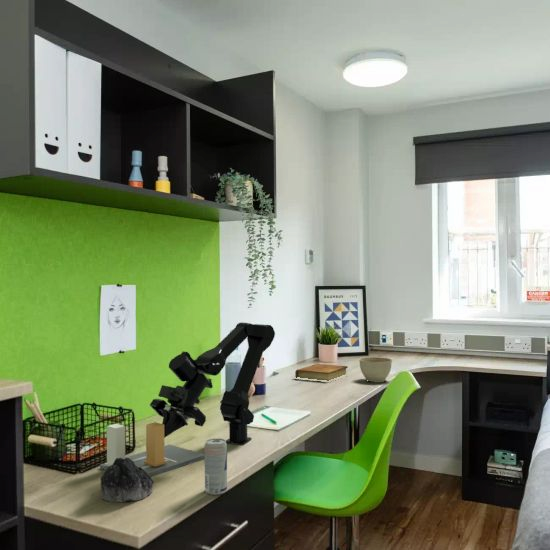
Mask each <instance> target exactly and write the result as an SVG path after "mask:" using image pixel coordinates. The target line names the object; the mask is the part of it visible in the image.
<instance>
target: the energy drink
mask: <svg viewBox="0 0 550 550" xmlns="http://www.w3.org/2000/svg"><path fill="white" fill-rule="evenodd" d="M226 440H227V439H224V438H210V439H207V440H205V443H204V454H205V459H204V491H205V493H206V494H207V495H211V496H219V495H223V494H225V493H226V492H227V490H228V444H227V443H226Z"/></svg>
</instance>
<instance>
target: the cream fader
mask: <svg viewBox="0 0 550 550" xmlns="http://www.w3.org/2000/svg"><path fill="white" fill-rule="evenodd" d="M125 457H126V426H125V425H122V424H119V423H114V424H110V425H109V424H108V425H107V426H106V462H104V463H105V465H106V466H108V467H109V466H111V465H113V463H114V461H115V459H116V458H123V459H125Z"/></svg>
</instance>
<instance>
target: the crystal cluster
mask: <svg viewBox="0 0 550 550" xmlns="http://www.w3.org/2000/svg"><path fill="white" fill-rule="evenodd" d="M153 485H154V479H152V476H151V477H150V476H149V474H148V473H147V472H146V471H145V470H143V469H142V468H141V467H139V468H138V467H137V466H136V465H135V464H134V462H133V461H132V460H131V459H129V458H125V459H123V458H116V459H115V461H114V463H113V465H111V466H109V467H108V468H107V470H104V473H103V474H102V475H101V477H100V499H101V500H103V499H104V501H107V502H114V503H115V502H118V503H120V502H121V503H123V502H129V501H132V502H133V501H140V500H144V499H146V497H148V496H149V495H151V494H152V493H153V492H154V489H153Z"/></svg>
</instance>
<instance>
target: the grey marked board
mask: <svg viewBox="0 0 550 550" xmlns="http://www.w3.org/2000/svg"><path fill="white" fill-rule="evenodd" d="M125 458H129V459H131V460H132V461H133V462H134V464H135V465H136V466H137V467H138V468H139V467H141V468H142V469H143V470H145V471H146V472H147V473H148V474H149V476H150V477H151V478H152V477H154V476H157V475H159V474H163V473H167V472H169V471H172V470H175V469H178V468H180V467H184V466H187V465H190V464H192V463H195V462H199V461H201V460H205V453H201V452H197V451H194V450H191V449H187V448H183V447H180V446H177V445H173V444H167V445H164V461H167V463H166V464H163V465H159V466H156V467H154V466H151V465H148V464H145V463H144V461H146V451H143V452H139V453H135V454H132V455H128V456H125ZM105 463H106V462H104V463H99V469H101V470H103V469H104V471H106V470H107V468H108V466H106V465H105Z"/></svg>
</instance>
